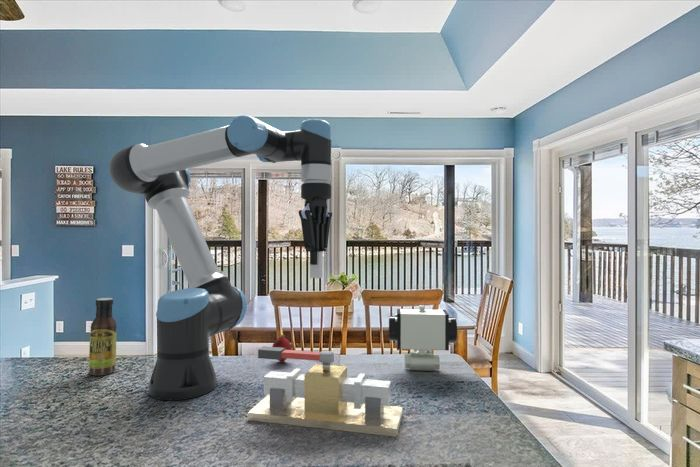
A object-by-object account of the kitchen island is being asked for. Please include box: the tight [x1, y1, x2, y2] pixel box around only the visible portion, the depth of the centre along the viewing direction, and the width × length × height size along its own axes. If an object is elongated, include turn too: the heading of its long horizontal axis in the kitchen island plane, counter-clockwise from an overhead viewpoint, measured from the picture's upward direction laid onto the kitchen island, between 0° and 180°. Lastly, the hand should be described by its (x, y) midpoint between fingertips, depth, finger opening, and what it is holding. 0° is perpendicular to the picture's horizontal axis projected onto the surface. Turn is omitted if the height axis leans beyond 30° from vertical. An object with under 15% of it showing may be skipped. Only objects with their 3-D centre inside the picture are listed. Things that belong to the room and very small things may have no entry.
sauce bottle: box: [88, 297, 118, 376], centre depth 113 cm, size 6×6×20 cm
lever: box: [257, 346, 335, 364], centre depth 88 cm, size 16×3×2 cm, turn 77°
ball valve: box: [388, 304, 458, 372], centre depth 116 cm, size 18×8×18 cm, turn 84°
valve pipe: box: [247, 363, 404, 438], centre depth 86 cm, size 30×10×11 cm, turn 77°
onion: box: [271, 334, 293, 363], centre depth 122 cm, size 6×6×8 cm
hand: (316, 277), depth 105 cm, fingers closed
